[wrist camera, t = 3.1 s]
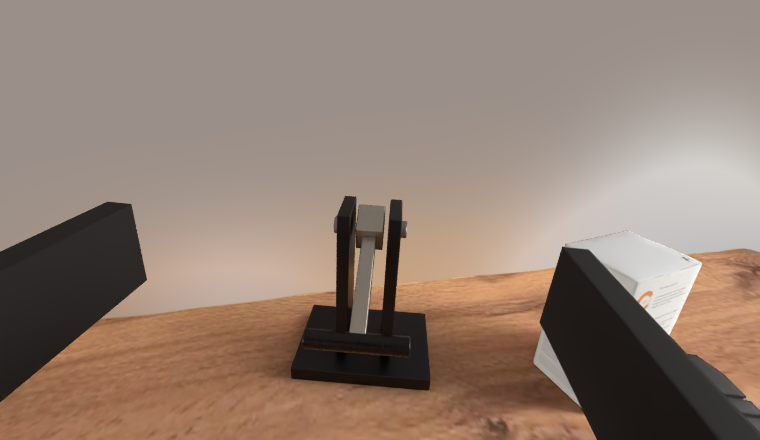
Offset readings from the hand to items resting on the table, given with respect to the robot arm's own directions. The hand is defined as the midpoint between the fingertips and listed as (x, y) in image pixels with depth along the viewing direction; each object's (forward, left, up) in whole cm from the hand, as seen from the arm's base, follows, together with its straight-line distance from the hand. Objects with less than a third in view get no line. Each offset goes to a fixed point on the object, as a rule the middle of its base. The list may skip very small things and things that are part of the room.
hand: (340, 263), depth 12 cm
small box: (-21, -17, -20) cm, 34 cm away
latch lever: (0, -15, -10) cm, 18 cm away
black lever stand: (0, -18, -20) cm, 27 cm away
